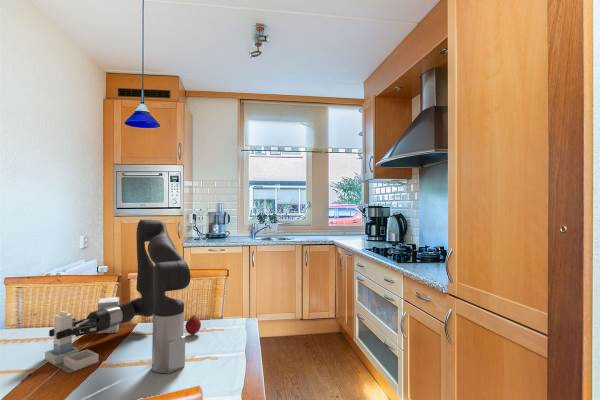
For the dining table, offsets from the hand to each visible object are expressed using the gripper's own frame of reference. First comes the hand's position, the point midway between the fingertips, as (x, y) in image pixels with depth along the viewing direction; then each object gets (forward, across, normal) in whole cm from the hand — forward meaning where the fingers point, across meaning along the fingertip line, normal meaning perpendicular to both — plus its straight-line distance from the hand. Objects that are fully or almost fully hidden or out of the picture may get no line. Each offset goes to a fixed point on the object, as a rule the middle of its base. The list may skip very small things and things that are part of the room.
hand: (53, 334), depth 107 cm
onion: (-39, +22, +10) cm, 46 cm away
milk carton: (-3, 0, +7) cm, 8 cm away
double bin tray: (-3, +5, +9) cm, 11 cm away
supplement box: (-26, -11, +10) cm, 30 cm away
